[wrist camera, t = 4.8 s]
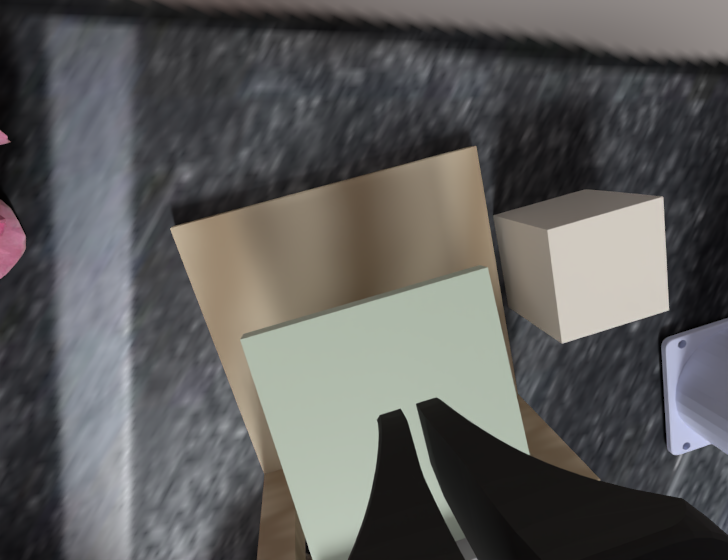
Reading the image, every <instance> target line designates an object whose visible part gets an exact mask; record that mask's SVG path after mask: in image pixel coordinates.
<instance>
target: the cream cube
mask: <svg viewBox="0 0 728 560" xmlns="http://www.w3.org/2000/svg"><path fill="white" fill-rule="evenodd" d="M493 218H494V224H495V230H496V236H497V242H498V248H499V254H500V260H501V266H502V272H503V278H504V284H505V290H506V296H507V302H508V307H509V308H510V309H512V310H513V311H515V312H516V313H518V314H519V315H521V316H522V317H524V318H525V319H527V320H528V321H530V322H531V323H533V324H534V325H535V326H537V327H538V328H540V329H541V330H543V331H544V332H546V333H547V334H549V335H550V336H552V337H553V338H555V339H556V340H558V341H559V342H560V343H565V342H569V341H572V340H575V339H578V338H581V337H585V336H588V335H591V334H594V333H598V332H601V331H604V330H607V329H610V328H614V327H617V326H620V325H623V324H626V323H630V322H633V321H636V320H639V319H643V318H646V317H649V316H652V315H655V314H659V313H662V312H665V311H668V310H669V300H668V281H667V261H666V242H665V223H664V203H663V197H662V196H652V195H641V194H631V193H621V192H610V191H600V190H589V189H585V190H581V191H578V192H574V193H570V194H567V195H563V196H560V197H556V198H553V199H549V200H546V201H542V202H539V203H535V204H532V205H528V206H525V207H521V208H517V209H514V210H510V211H507V212H503V213H500V214H496V215H493Z"/></svg>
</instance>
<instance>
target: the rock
mask: <svg viewBox="0 0 728 560" xmlns="http://www.w3.org/2000/svg"><path fill="white" fill-rule="evenodd" d="M305 554H306V560H313V559H312V556H311V555H309V554H307V553H305Z"/></svg>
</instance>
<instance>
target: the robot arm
mask: <svg viewBox="0 0 728 560" xmlns="http://www.w3.org/2000/svg"><path fill="white" fill-rule="evenodd" d="M679 342H680V343H679ZM678 343H679V345H678ZM661 351H662V368H663V385H664V403H665V420H666V438H667V449H668V451H669V452H671V453H672V454H673V455H680V454H683V453H686V452H688V451H691V450H694V449H697V448H700V447H703V446H706V445H709V444H713V445H714V446H716V447H717V448H719V449H720V450H722V451H723V452H725V453H726V454H728V318H726V319H723V320H720V321H716V322H713V323H710V324H707V325H704V326H701V327H697V328H694V329H691V330H688V331H685V332H682V333H678V334H675V335H672V336H669V337H667V338H665V339H664V340H663V342H662V345H661ZM416 407H417V411H418V415H419V419H420V423H421V427H422V431H423V435H424V439H425V443H426V447H427V451H428V455H429V459H430V463H431V466H432V468H433V471H434V473H435V476H436V479H437V481H438V483H439V486H440V488H441V491H442V493H443V496H444V498H445V500H446V502H447V503H448V505H449V507H450V509H451V511H452V513H453V515H454V517H455V518H456V520H457V522H458V524H459V526H460V528H461V530H462V531H463V533H464V535H465V537H466V539H467V541H468V543H469V544H470V546H471V548H472V550H473V552H474V554H475V556H476V557H477V559H478V560H728V535H727V534H726V533H725V532H724V531H723V530H721V529H720V528H719V527H718V526H717V525H716V524H715V523H713V522H712V521H711V520H710V519H709V518H707V517H706V516H705V515H704V514H702V513H701V512H700V511H698V510H697V509H696V508H694V507H693V506H692V505H690V504H689V503H688V502H686V501H685V500H684V499H682V498H677V497H671V496H666V495H661V494H655V493H650V492H645V491H640V490H634V489H630V488H626V487H622V486H618V485H614V484H610V483H606V482H602V481H599V480H596V479H592V478H589V477H585V476H582V475H579V474H577V473H574V472H571V471H568V470H565V469H562V468H559V467H557V466H554V465H551V464H549V463H546V462H544V461H542V460H539V459H537V458H535V457H533V456H530V455H528V454H526V453H524V452H522V451H520V450H518V449H516V448H514V447H512V446H510V445H508V444H506V443H505V442H503V441H501V440H499V439H498V438H496V437H494V436H493V435H491V434H489V433H488V432H486V431H484V430H483V429H481V428H480V427H478V426H477V425H475V424H474V423H472V422H471V421H469V420H468V419H466V418H465V417H463V416H462V415H461V414H459V413H458V412H456V411H455V410H454V409H452V408H451V407H450V406H448V405H447V404H446V403H444V402H443V401H442V400H441V399H439V398H437V397H436V398H432V399H429V400H426V401H423V402H420V403H416ZM377 422H378V431H379V439H378V453H377V462H376V469H375V474H374V479H373V484H372V489H371V494H370V498H369V502H368V505H367V509H366V512H365V515H364V519H363V522H362V525H361V527H360V530H359V533H358V535H357V538H356V541H355V543H354V546H353V548H352V551H351V553H350V555H349V558H348V560H465V558H464V557H463V555H462V553H461V551H460V549H459V547H458V545H457V544H456V542H455V540H454V538H453V536H452V534H451V532H450V530H449V528H448V526H447V524H446V522H445V520H444V518H443V516H442V514H441V512H440V510H439V508H438V506H437V504H436V502H435V500H434V498H433V495H432V493H431V491H430V489H429V487H428V485H427V483H426V480H425V478H424V475H423V473H422V470H421V467H420V463H419V460H418V456H417V453H416V449H415V446H414V442H413V438H412V435H411V431H410V428H409V424H408V421H407V419H406V417H405V415H404V413H403V412H402V410H401V408H400V409H397V410H394V411H391V412H388V413H385V414H381V415H379V417H378V419H377Z"/></svg>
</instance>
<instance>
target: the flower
mask: <svg viewBox="0 0 728 560" xmlns="http://www.w3.org/2000/svg"><path fill="white" fill-rule="evenodd" d="M7 138H8V136H7V135H6V134H4V133H3V132H2V131H1V130H0V145H2V144H6V143H10V141H9V140H8V139H7ZM25 249H26V235H25V233H24V231H23V229H22V227H21V225H20V223H19V221H18V220H17V218H16V216H15V215H14V213H13V211H12V210H11V208H10V207H9V206H7V205H6V204H5V203H4V202H3V201H2V200H1V199H0V279H1V278H2V277H3V276H5V275H6V274H7V273H8V272H9V271H10V270H11V268H12V267H13V266H14V265H15V264H16V263H17V261H18V260H19V259H20V258H21V256H22V255H23V253H24V251H25Z"/></svg>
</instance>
